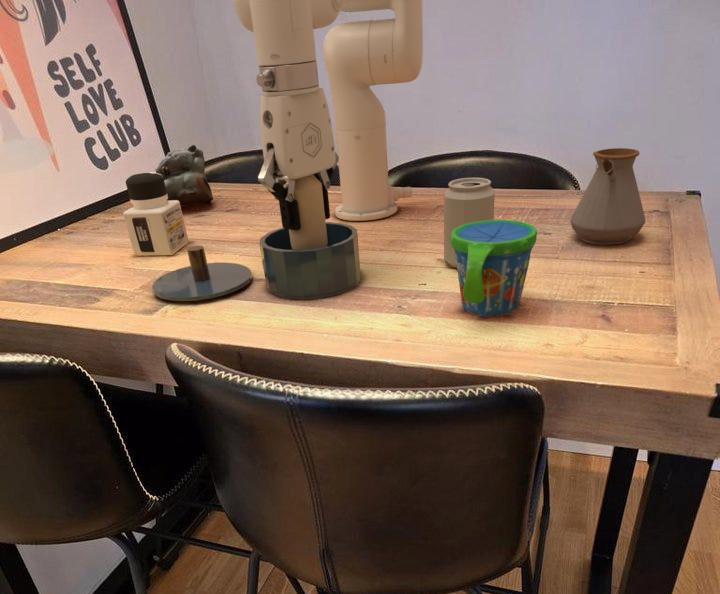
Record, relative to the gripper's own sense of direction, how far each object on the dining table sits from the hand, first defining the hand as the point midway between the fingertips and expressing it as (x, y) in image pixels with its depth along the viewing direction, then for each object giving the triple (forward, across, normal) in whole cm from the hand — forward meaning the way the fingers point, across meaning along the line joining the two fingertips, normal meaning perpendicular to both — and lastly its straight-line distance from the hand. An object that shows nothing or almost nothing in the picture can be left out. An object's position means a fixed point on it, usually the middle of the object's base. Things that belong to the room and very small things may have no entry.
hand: (306, 222), depth 95 cm
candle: (+4, 0, 0) cm, 4 cm away
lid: (+8, -10, +15) cm, 20 cm away
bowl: (+9, 0, 0) cm, 9 cm away
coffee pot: (+9, +34, -31) cm, 47 cm away
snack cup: (+9, +4, -29) cm, 31 cm away
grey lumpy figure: (+9, +22, +62) cm, 66 cm away
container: (+9, -1, +39) cm, 40 cm away
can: (+9, +18, -16) cm, 26 cm away
